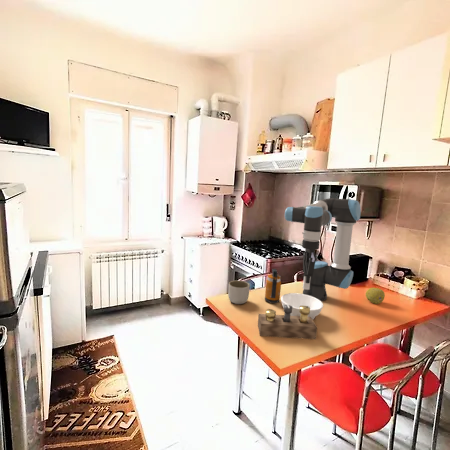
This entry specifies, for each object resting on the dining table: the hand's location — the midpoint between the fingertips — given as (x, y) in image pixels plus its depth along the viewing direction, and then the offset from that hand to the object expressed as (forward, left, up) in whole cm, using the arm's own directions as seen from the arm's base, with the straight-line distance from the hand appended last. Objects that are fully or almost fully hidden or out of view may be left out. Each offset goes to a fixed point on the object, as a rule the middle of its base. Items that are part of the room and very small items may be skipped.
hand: (305, 288), depth 127 cm
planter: (+30, -32, -22) cm, 49 cm away
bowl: (-4, -19, -23) cm, 30 cm away
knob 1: (+16, 0, -22) cm, 27 cm away
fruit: (-58, -44, -22) cm, 76 cm away
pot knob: (+8, 0, -19) cm, 20 cm away
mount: (+8, 0, -22) cm, 23 cm away
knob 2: (0, 0, -19) cm, 19 cm away
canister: (+9, -35, -22) cm, 42 cm away
